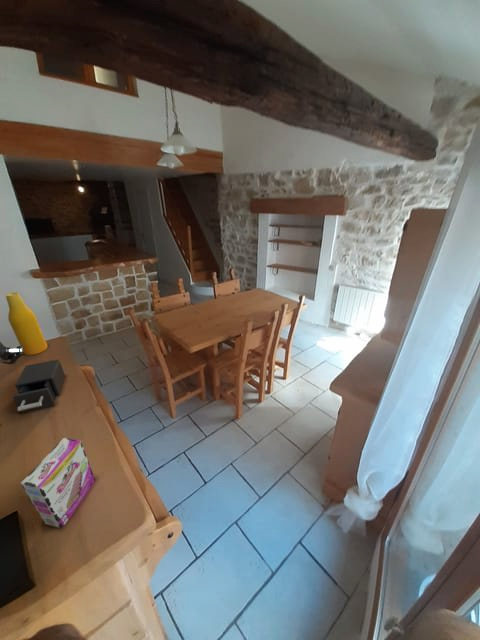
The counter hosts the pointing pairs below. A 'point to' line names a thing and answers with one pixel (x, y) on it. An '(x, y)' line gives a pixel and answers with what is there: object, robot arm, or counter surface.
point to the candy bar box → (59, 482)
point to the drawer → (35, 396)
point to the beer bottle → (25, 325)
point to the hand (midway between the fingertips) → (12, 360)
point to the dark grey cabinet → (43, 375)
